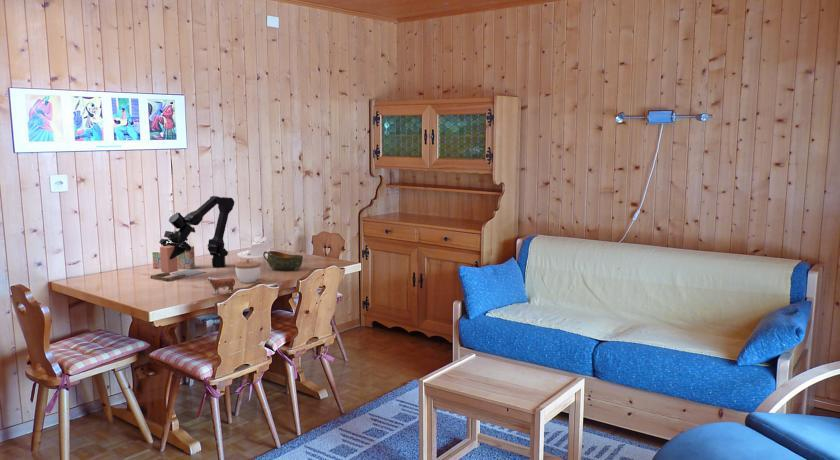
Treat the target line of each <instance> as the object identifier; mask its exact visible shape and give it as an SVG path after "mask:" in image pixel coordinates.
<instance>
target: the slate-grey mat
mask: <svg viewBox="0 0 840 460" xmlns="http://www.w3.org/2000/svg"><path fill="white" fill-rule="evenodd" d="M171 273H172V275H175V276H179V275H183V274H185V277H192V275H193V276H196V275H201V274H205V273H206V271H205V270H204V271H203V270H197V269H193V268H192V269H184V270H182V271H176V272H171Z"/></svg>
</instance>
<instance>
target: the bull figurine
mask: <svg viewBox="0 0 840 460" xmlns="http://www.w3.org/2000/svg"><path fill="white" fill-rule="evenodd" d="M205 283H206V284H209V285H210V287H211V288H212V289H213V293H212V296H215V295H217V294H219V293H220V291H219V290H220V289H223V290H225V289H226V288H227V287H228V288H227V291H226V292H225V293H226V294H228V293H232V292H233V293H234V286H235V285H236V280H235V278H216V277H213V276H212V277H211V276H208V278H207V279H206V280H205ZM233 293H232V294H233Z"/></svg>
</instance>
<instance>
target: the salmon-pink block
mask: <svg viewBox="0 0 840 460" xmlns="http://www.w3.org/2000/svg"><path fill="white" fill-rule="evenodd" d="M174 249H175V246H159V250H160V256H161V269H160V270H161V273H170V274H171V273H176V272H178V269H177V256H176V257H175V258H173V259H170V256H171V254H172V253H173V251H174Z"/></svg>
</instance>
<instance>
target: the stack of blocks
mask: <svg viewBox="0 0 840 460" xmlns="http://www.w3.org/2000/svg"><path fill="white" fill-rule="evenodd" d="M190 246H191V250H190V252H186V251H185V253H182V254H180V255H178V256H177V270H190V269H192V270H193V269H194V268H195V266H196V263H195V259H196V258H195V256H196V255H195V246H194V245H190ZM151 255H152V268H153V269H159V270H161V256H160V249H159V250H158V249H157V250H155V251H152V254H151Z"/></svg>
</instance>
